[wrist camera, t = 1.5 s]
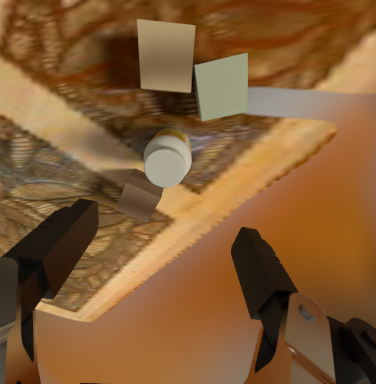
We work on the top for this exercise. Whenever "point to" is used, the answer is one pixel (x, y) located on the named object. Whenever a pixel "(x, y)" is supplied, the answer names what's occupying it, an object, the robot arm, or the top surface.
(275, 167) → the top surface
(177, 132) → the supplement bottle
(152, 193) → the walnut block
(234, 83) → the sage block
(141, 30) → the oak block
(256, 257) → the robot arm
